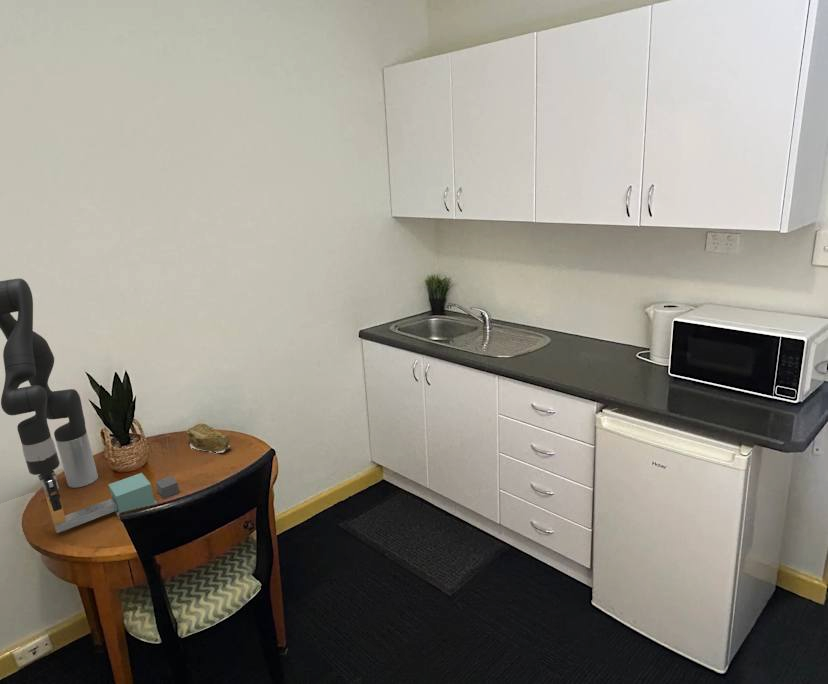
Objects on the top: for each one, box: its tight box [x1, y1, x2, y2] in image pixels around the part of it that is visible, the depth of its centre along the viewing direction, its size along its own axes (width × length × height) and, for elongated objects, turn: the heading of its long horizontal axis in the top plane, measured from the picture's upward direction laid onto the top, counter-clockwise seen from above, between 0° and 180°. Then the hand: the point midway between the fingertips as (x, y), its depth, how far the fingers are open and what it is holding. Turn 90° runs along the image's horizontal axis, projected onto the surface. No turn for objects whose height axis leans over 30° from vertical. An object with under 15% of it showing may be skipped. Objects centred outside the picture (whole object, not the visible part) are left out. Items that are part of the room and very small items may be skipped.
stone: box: [185, 423, 231, 454], centre depth 218 cm, size 22×10×7 cm, turn 55°
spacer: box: [155, 475, 180, 500], centre depth 188 cm, size 6×4×5 cm
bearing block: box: [108, 472, 158, 516], centre depth 182 cm, size 11×11×8 cm
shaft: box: [44, 491, 118, 534], centre depth 174 cm, size 4×22×12 cm, turn 129°
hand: (55, 503), depth 168 cm, fingers open, 8 cm apart
